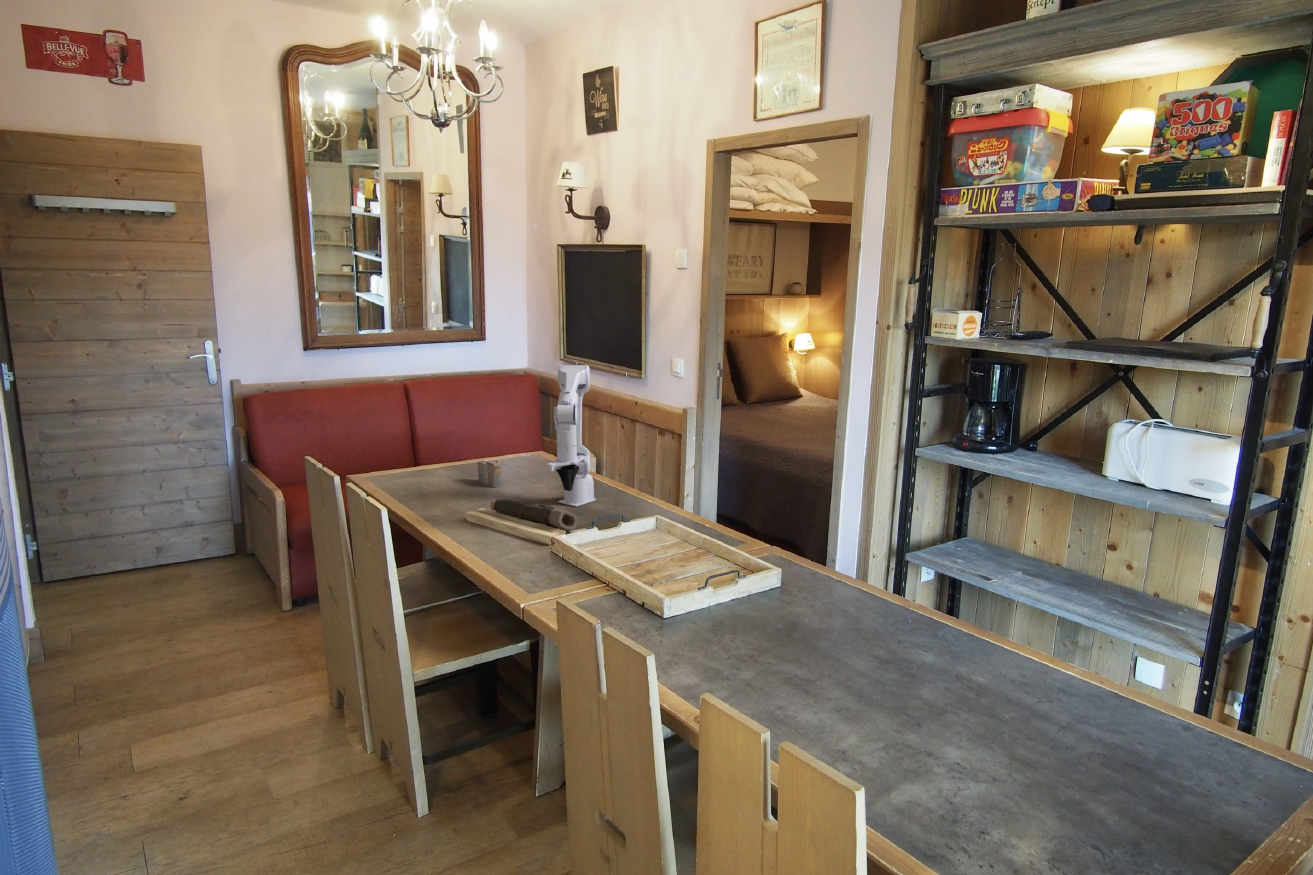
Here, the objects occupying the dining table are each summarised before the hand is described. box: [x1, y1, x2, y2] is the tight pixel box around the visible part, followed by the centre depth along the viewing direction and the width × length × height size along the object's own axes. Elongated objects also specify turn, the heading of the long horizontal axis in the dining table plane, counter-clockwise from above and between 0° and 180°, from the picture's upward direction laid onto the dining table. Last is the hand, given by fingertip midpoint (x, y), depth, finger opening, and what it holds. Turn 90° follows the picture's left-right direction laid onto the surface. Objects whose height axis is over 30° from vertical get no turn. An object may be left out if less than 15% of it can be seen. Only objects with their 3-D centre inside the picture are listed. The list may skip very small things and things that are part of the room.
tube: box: [489, 499, 579, 532], centre depth 237 cm, size 11×7×30 cm
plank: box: [465, 507, 567, 546], centre depth 233 cm, size 6×36×3 cm, turn 51°
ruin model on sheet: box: [477, 459, 502, 489], centre depth 283 cm, size 11×3×10 cm, turn 41°
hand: (568, 490), depth 240 cm, fingers closed
